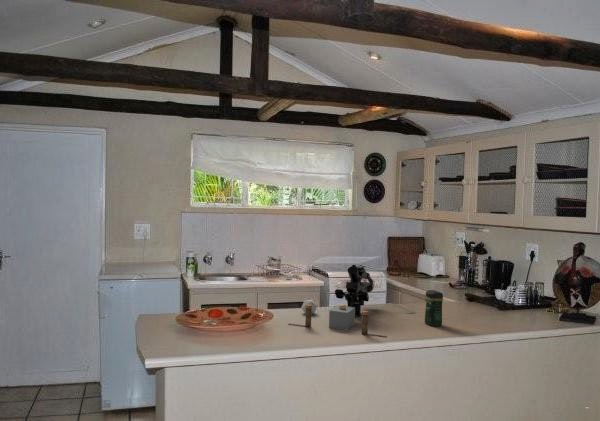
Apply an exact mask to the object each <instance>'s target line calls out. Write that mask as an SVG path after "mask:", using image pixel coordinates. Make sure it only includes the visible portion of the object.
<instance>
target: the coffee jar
mask: <svg viewBox="0 0 600 421" xmlns="http://www.w3.org/2000/svg"><path fill="white" fill-rule="evenodd" d="M443 301H444V294H443V293H442V292H440V291H437V290H434V289H428V290H426V291H425V309H424V310H425V311H424V324H427V325H428V326H433V327H440V326H442V325H443Z"/></svg>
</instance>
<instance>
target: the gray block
mask: <svg viewBox="0 0 600 421" xmlns="http://www.w3.org/2000/svg"><path fill="white" fill-rule="evenodd" d="M328 314H329V317H328V328H331V329H338V330H346V331H347V330H349V329H350V328H352V327H353V326H354V325H355V324H356V322H355V321H356V320H355V318H356V316H355V307H348V305H346V304H339V305H336V306H334V307H332V308H331V309H330V310H329V312H328Z"/></svg>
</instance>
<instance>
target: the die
mask: <svg viewBox="0 0 600 421" xmlns="http://www.w3.org/2000/svg"><path fill="white" fill-rule="evenodd" d="M306 305H312V313H311V315H314V314H315V313H316V310H317V308H318V304H316V302H315V301H314V299H304V301H303V303H302V305H301V310H302V311H303V313H304V314H305V315H306V308H305V307H306Z"/></svg>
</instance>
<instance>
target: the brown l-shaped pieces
mask: <svg viewBox="0 0 600 421" xmlns="http://www.w3.org/2000/svg"><path fill="white" fill-rule="evenodd" d="M305 308H306V314H305V323H304V324H298V323H288V324H287V325H290V326H297V327H304V328H309V329H310V328H312V314H311V313H312V305H306V307H305ZM361 313H362V315H361V335H363V336H372V337H374V336H375V337H379V338H380V337H381V338H387V335H383V334H374V333H368V332H369V331H368V330H369V329H368V328H369V311H367V310H361Z"/></svg>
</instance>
